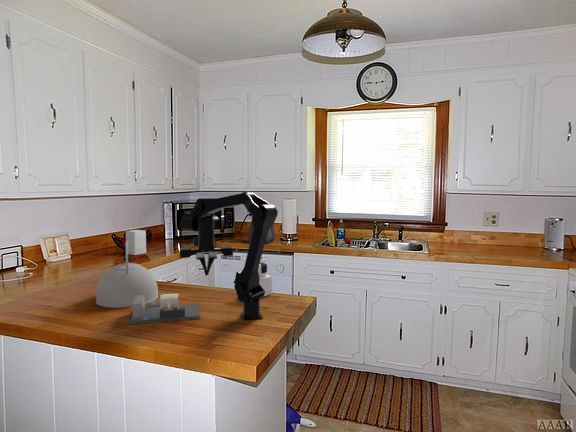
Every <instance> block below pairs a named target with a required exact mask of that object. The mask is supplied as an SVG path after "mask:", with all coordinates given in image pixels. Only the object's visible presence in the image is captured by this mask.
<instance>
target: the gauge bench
mask: <svg viewBox="0 0 576 432" xmlns="http://www.w3.org/2000/svg"><path fill="white" fill-rule="evenodd" d="M131 308H132V311H131V312H132V316H131V318H130V323H129V324H130V325H138V324H149V323H160V322H162V323H163V322H172V321H174V322H175V321H184V320H196V319H197V320H198V319H201V311H200V306H199V302H198V303H197V302H196V303H184V304H183V303H181V304H179V307H178V308H172V307H170V308H169V309H168V307H167V308H164V309H160V307H148V306H146V304H145V295H136V296H135V298H134V301H133V304H132V307H131Z"/></svg>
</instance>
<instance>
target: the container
mask: <svg viewBox="0 0 576 432" xmlns="http://www.w3.org/2000/svg"><path fill="white" fill-rule="evenodd" d="M258 273H259V277H260V279H259V284H260V285H261V287H262V288H263V289H264V291H265V294H264V297H266V296H269V295H272V293H273V275H271V274H270V275H269V274H268V264H267V263H265V262H261V261H260V264H259V268H258ZM250 294H252V293H250Z"/></svg>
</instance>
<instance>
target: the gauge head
mask: <svg viewBox="0 0 576 432" xmlns="http://www.w3.org/2000/svg"><path fill="white" fill-rule="evenodd" d="M179 305H180V304H179V293H165V294H160V296H159V301H152V302H149V303H147V307H160V309H164V308H167V307H168V309H169V308H170V307H172V308H178V307H179Z"/></svg>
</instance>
